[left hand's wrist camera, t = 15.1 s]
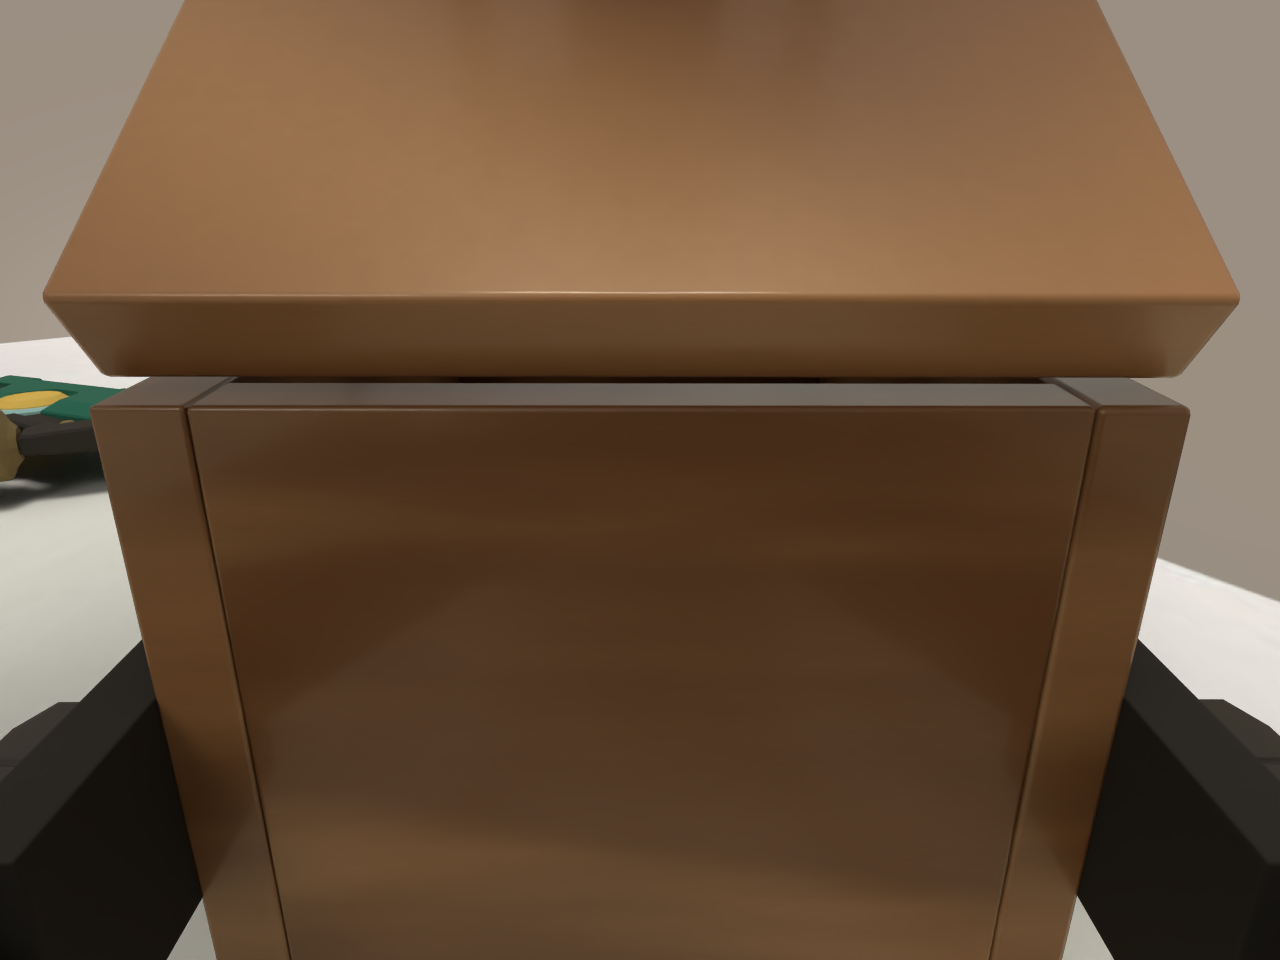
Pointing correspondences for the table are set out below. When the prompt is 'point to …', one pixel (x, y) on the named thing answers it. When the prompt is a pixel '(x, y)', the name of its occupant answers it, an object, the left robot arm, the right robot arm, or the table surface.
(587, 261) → the lid
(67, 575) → the table surface
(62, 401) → the spray gun
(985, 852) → the chest
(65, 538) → the table surface
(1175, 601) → the table surface
